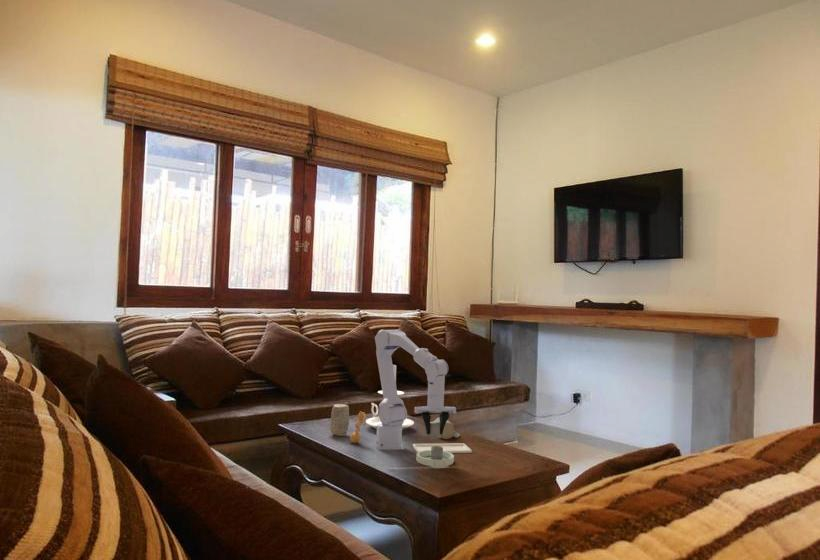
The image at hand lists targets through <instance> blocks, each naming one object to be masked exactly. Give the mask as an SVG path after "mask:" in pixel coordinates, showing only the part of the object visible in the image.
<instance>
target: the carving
mask: <svg viewBox="0 0 820 560" xmlns="http://www.w3.org/2000/svg"><path fill="white" fill-rule="evenodd" d="M330 416H331V417H330V428H329V429H330V433H331V434H333V435H334V436H338V437H343V436H344V437H345V436H347V434H348V430H349V425H350V407H349V405H348V404H345V403H343V404H342V403H337V404H334V405H333V406H332V409H331V415H330Z"/></svg>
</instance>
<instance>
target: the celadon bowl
mask: <svg viewBox="0 0 820 560" xmlns="http://www.w3.org/2000/svg"><path fill="white" fill-rule="evenodd" d="M415 456H416V457H415V459H416V462H417V463H418V464H421V465H423V466H424V467H425V468H431V469H446V468H450V467H452V466H451V465H453V463H454V462H455V455H454V453H449V452H446V451H443V460H434V459H431V450H424V451H419V452H418V453H417V452H416V454H415Z"/></svg>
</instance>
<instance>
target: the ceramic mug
mask: <svg viewBox="0 0 820 560" xmlns="http://www.w3.org/2000/svg"><path fill="white" fill-rule="evenodd" d="M433 422H440V417H439V416H438V417H437V418H436V419H434V421H433ZM460 436H461V434H460V433H458V432H457V431H456V430H455V426H454V425H453V423H452V422H451V421H450V420H449V419H448V420H447V422H446V424H445V427H444V430H443V434H440V438H439V439H442V440H451V439H452V438H453V437H454V438H457V439H458V438H460Z"/></svg>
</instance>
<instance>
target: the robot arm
mask: <svg viewBox="0 0 820 560" xmlns="http://www.w3.org/2000/svg"><path fill="white" fill-rule="evenodd" d="M374 341H375V342H374V343H375V346H376V351H375V354H376V360H377V367H378V372H379V379H380V385H381V391H382V392H383V394H382V396H383V399H382V400H381V401H380V403H379V404H378V417H379V419H380V421H381V422H382V424H378V425H377V429H376V436H375V437H376V438H375V439H376V440H375V444H376V445H375V446H376V448H377V449H378V450H379V451H381V450H385V451H386V450H404V449H405V448H404V447H403V445H402V444H403V443H402V438H403V430H402V424H403V423H404V420H405V419H407V417H408V410H407V408H406V406H405V403H404V400H402V398H400V397H399V395H398V394H397V391H398V389H397V381H396V382H395V376H394V370H393V365H394V364H393V360H392V355H393V354H394V352H395V351H396V350H398V348H402V349H403V350H404V351H406V352H407V353H409V354H410V355H412V357H413V360H414V362H415V363H417V364H418V366H420V367H421V368H423V370H424V371H425V374H426V377H427V378H426V380H427V400H426V401H427V402H426V403H427V405H425V406H424V405H423V406H414V414H420V415H421V416H422V419H423V422H424V426H425V431H426V432H425V433H426V435H428V436H429V435H430V422H431V418H432V417H431V414H439V415H438V418H439V417H440V434H443V430H444V427H445V424H446V422H447V420H448V421H449V418H450V414H457V407H455V406H444V402H445V401H444V400H445V384H446V383H445V382H446V380H445V379H446V377H445V376H446V375H447V374H448V373H449V365H448V363H447V361H446V360H445V359H438V357H437V356H436V355H433V354H432V353H431V352H430V351H429V349H428V348H425V347H421V348H419V346H417V344H415V343H414V342H413V341H412V339H410V338H409V337H408V336H407V335H406V333H405V332H404V331H403V330H401V329H399V328H396V329H380V330H378V332H377V333H376V335H375V336H374ZM390 405H393V406H390ZM389 406H390V407H389Z"/></svg>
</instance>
